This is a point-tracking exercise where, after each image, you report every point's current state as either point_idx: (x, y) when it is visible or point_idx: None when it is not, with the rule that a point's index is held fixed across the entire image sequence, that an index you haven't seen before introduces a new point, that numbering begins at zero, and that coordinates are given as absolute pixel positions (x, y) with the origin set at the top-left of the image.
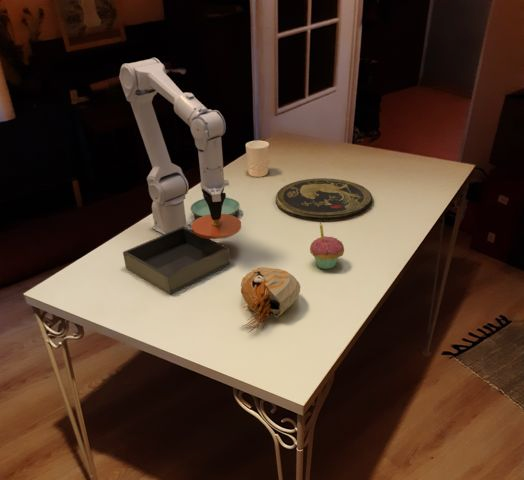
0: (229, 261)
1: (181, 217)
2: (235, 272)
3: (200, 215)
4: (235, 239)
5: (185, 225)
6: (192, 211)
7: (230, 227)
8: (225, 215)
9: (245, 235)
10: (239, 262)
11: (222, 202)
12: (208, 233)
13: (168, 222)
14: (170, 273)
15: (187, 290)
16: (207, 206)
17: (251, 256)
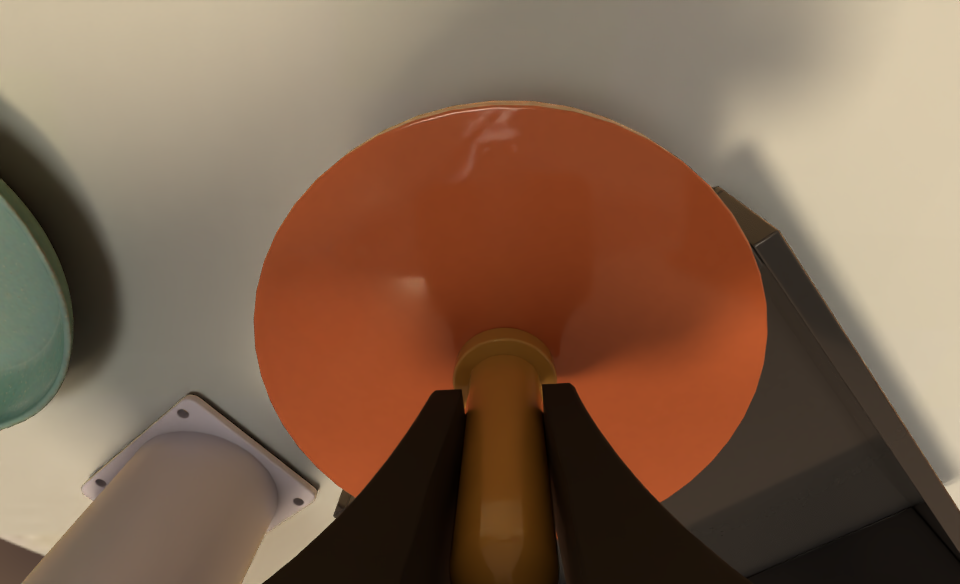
0: (730, 196)
1: (195, 523)
2: (843, 153)
3: (57, 380)
4: (327, 125)
5: (199, 452)
6: (5, 424)
7: (608, 239)
8: (295, 277)
9: (255, 34)
10: (704, 114)
11: (725, 570)
12: (686, 438)
13: (247, 568)
14: (735, 504)
15: (925, 428)
16: None
17: (634, 4)
